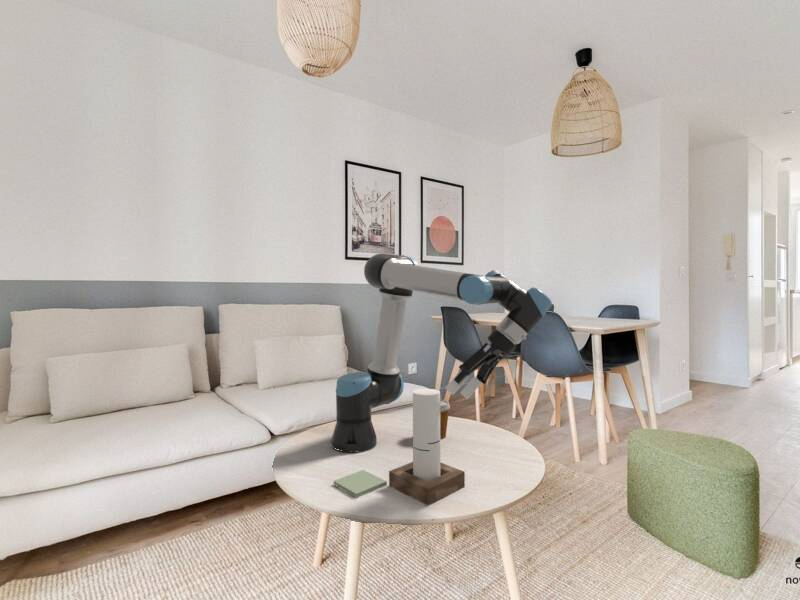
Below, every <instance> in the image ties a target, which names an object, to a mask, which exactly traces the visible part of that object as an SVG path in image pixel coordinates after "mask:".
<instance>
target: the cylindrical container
mask: <svg viewBox="0 0 800 600" xmlns="http://www.w3.org/2000/svg"><path fill="white" fill-rule="evenodd" d="M440 400H441V391H440V390H437V389H433V388H417V389H414V390H412V462H413V476H416V477H418V478H420V479H422V480H425V481H427V482H428V481H430V480H433V479H435V478H437V477H439V476H440V462H441V439H440Z"/></svg>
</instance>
